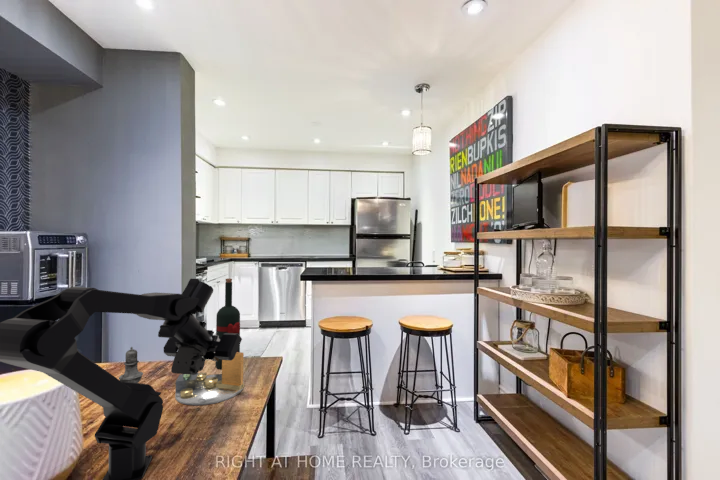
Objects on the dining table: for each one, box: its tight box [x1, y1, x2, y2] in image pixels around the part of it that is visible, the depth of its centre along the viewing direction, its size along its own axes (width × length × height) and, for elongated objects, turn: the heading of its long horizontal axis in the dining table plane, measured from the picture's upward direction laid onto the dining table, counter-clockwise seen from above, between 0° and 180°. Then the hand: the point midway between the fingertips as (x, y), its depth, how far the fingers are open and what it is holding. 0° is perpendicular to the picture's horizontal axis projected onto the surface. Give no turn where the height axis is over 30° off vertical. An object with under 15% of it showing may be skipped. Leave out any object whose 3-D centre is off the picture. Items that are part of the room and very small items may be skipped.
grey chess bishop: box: [118, 346, 144, 383], centre depth 96 cm, size 6×6×12 cm
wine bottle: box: [214, 278, 241, 370], centre depth 114 cm, size 8×10×30 cm
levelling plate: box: [174, 372, 245, 407], centre depth 95 cm, size 18×18×6 cm
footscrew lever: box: [204, 351, 245, 390], centre depth 95 cm, size 12×4×10 cm, turn 77°
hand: (217, 359), depth 88 cm, fingers closed
